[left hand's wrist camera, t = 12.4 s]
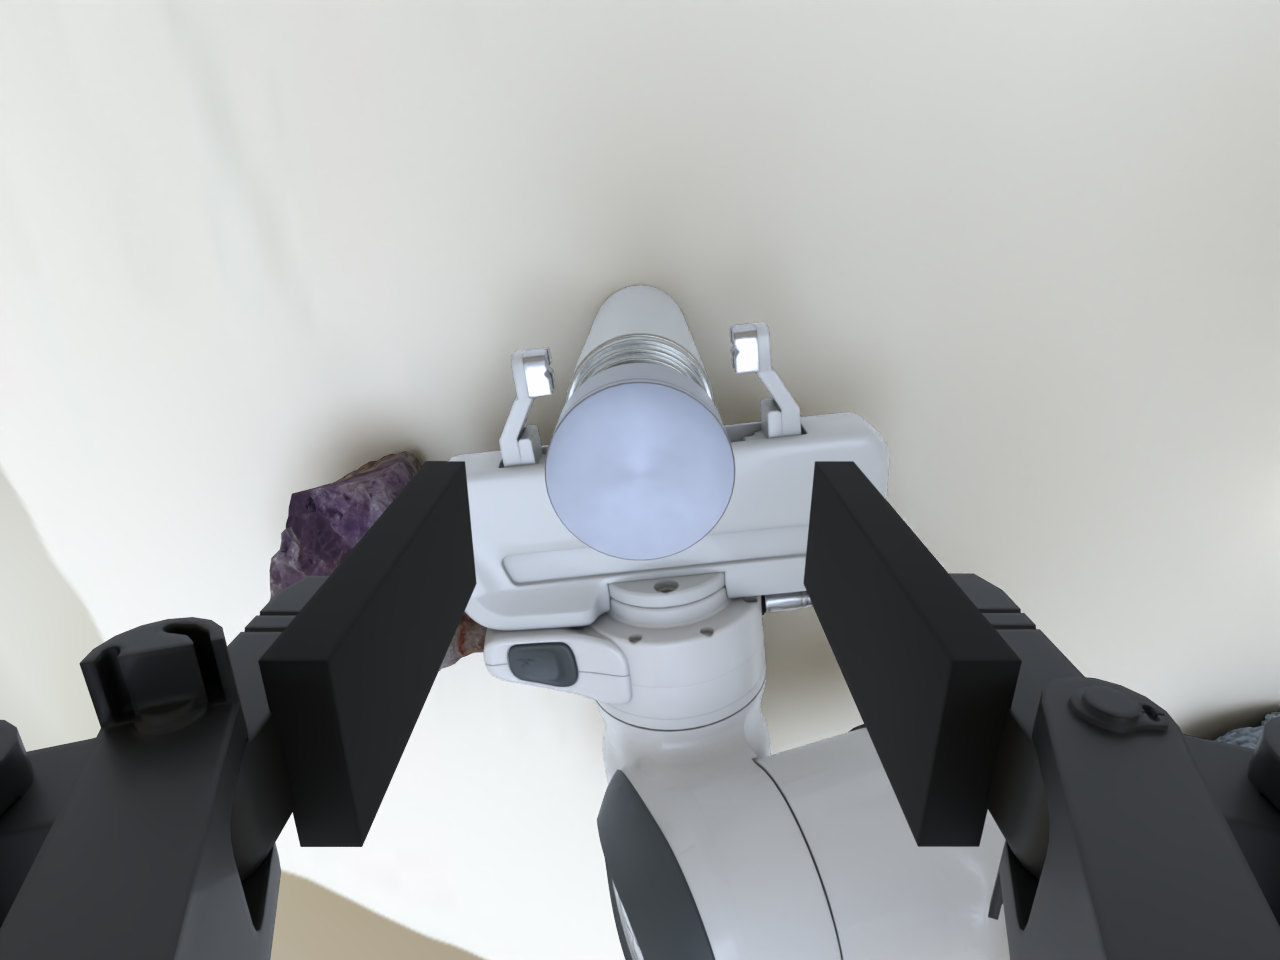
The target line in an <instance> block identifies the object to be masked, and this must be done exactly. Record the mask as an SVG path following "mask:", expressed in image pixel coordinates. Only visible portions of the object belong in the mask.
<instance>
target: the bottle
mask: <svg viewBox="0 0 1280 960" xmlns="http://www.w3.org/2000/svg"><path fill="white" fill-rule="evenodd" d="M630 363H650V364H658V365H661V366H665V367H669V368H671V369H674V370H676V371H679V372H681V373H682V374H684V375H686V376H687V377H689V378H691V379H692V380H693V381H694V382H696V383H697V384H698V385H699V386H700V387H701V388H702V389H703V390H704V391H705V392H706V393H707V394H708V396H709V397H710V398H711V400H712V401H713V403H714V396H713V390H712V386H711V383H710V380H709V377H708V375H707V372H706V370H705V367H704V365H703V362H702V360H701V357H700V355H699V353H698V350H697V348H696V345H695V343H694V340H693V338H692V335H691V333H690V330H689V328H688V325H687V323H686V321H685V318H684V316H683V313H682V311H681V309H680V307H679V306H678V305H677V303H676V302H675V301H674V300H673V299H672V298H671V297H670V296H669V295H668V294H666V293H665V292H663V291H661V290H659V289H657V288H654V287H651V286H645V285H635V286H629V287H626V288H623V289H621V290H619V291H617V292H615V293H614V294H612V295H611V296H610V297H609V298H608V299H607V300H606V301H605V302H604V303H603V304H602V306H601V307H600V309H599V311H598V313H597V316H596V318H595V321H594V323H593V325H592V328H591V330H590V333H589V335H588V338H587V340H586V343H585V345H584V348H583V350H582V353H581V355H580V358H579V360H578V362H577V365H576V367H575V370H574V372H573V375H572V377H571V380H570V382H569V386H568V390H567V396H566V403H567V401H568V400H569V398H570V397H571V396H572V394H573V393H574V392H575V391H576V390H577V389H578V388H579V387H580V386H581V385H582V384H583V383H584V382H586V381H587V380H588V379H590V378H591V377H593V376H594V375H596V374H598V373H599V372H601V371H604V370H606V369H609V368H611V367H615V366H619V365H622V364H630Z"/></svg>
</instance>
